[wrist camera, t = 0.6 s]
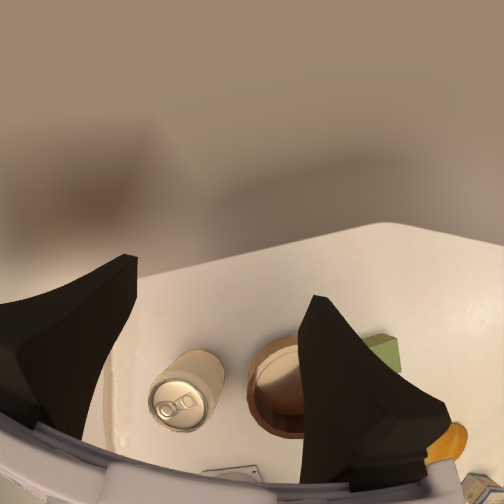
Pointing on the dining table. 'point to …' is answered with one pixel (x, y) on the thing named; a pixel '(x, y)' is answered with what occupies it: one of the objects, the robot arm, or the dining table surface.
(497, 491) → the medicine box
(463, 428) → the bread roll
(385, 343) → the block
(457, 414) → the dining table surface
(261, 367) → the pot
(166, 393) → the can
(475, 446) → the dining table surface
